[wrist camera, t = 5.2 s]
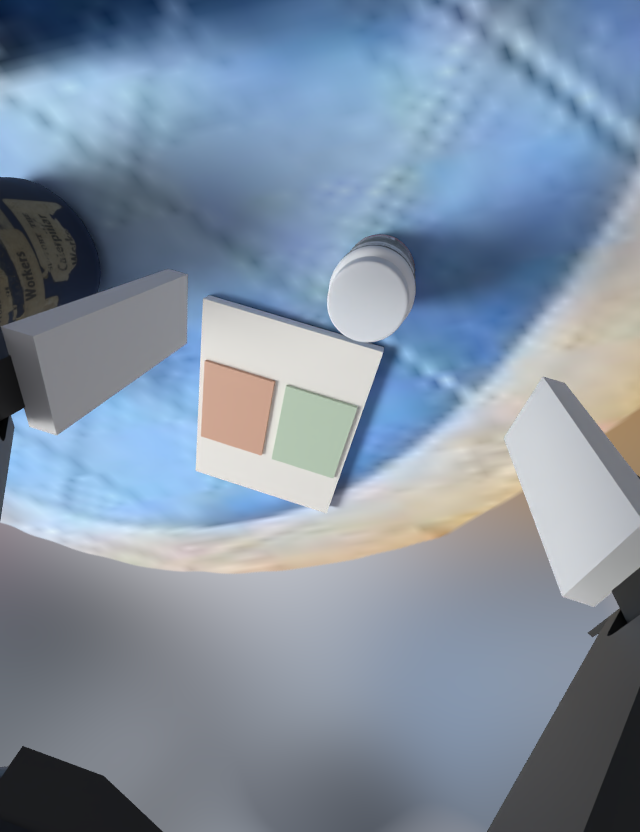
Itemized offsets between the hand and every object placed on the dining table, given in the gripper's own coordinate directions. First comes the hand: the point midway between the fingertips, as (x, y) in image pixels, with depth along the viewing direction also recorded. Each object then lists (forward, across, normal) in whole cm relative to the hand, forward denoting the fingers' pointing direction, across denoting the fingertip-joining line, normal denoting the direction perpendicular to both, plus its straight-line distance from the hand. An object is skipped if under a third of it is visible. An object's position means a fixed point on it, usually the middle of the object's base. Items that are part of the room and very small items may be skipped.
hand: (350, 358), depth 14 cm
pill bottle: (+14, 0, 0) cm, 14 cm away
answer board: (+14, -5, -14) cm, 20 cm away
